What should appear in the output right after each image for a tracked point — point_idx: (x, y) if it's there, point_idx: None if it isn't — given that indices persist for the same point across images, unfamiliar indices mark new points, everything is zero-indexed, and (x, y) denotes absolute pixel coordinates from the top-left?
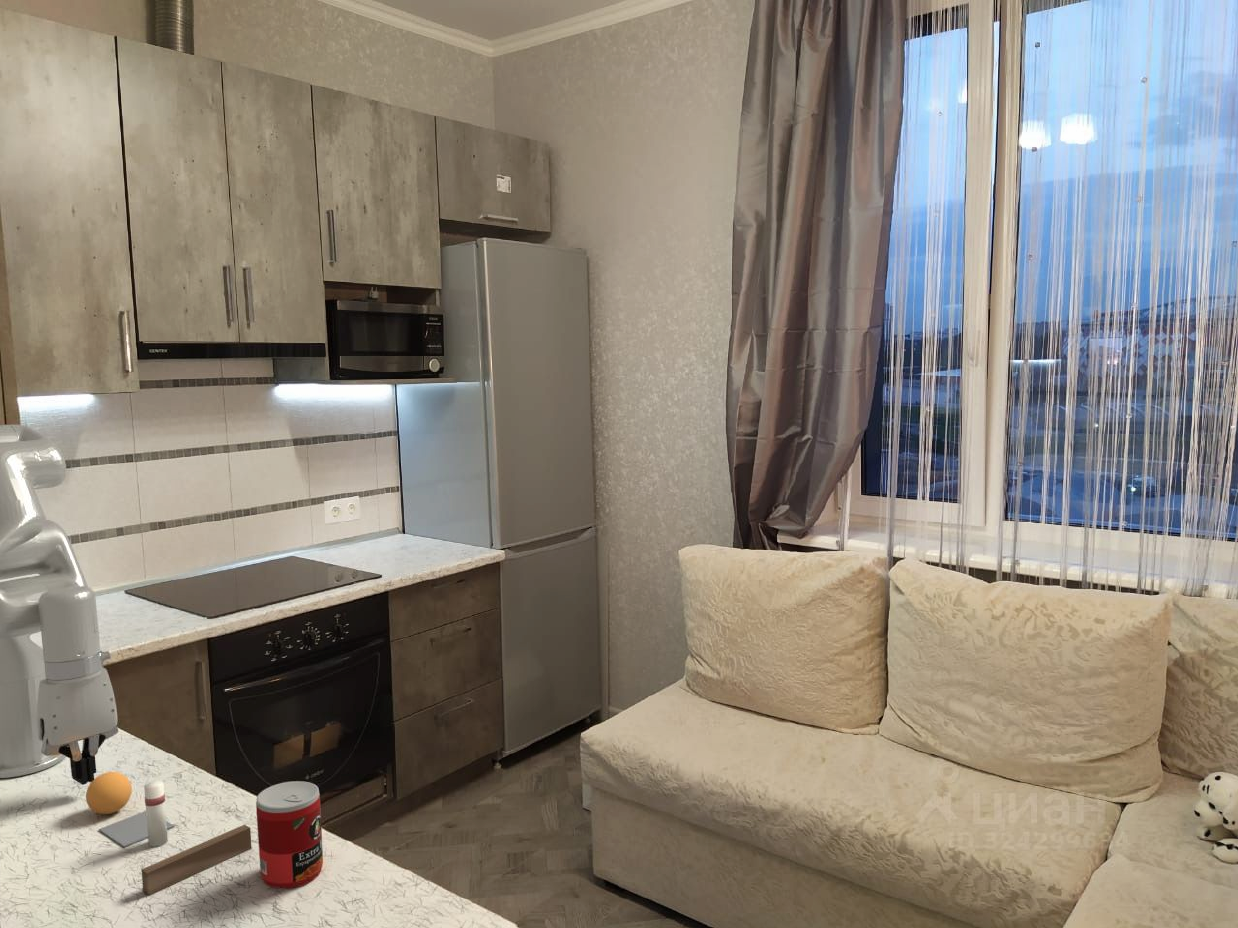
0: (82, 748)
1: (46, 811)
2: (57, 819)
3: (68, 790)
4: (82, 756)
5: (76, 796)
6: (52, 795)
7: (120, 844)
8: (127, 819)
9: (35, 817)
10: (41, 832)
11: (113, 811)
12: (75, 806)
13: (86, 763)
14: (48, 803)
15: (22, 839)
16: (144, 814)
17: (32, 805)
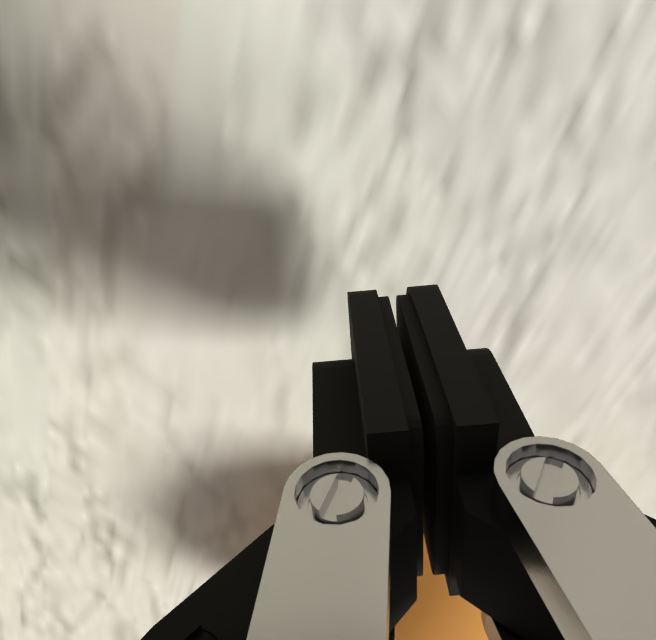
0: (502, 486)
1: (135, 332)
2: (172, 458)
3: (326, 97)
4: (437, 500)
5: (332, 255)
6: (207, 96)
7: None
8: None
9: (71, 362)
10: (90, 522)
11: None
12: (284, 384)
13: (423, 523)
14: (160, 224)
15: (9, 528)
16: None
17: (59, 170)
